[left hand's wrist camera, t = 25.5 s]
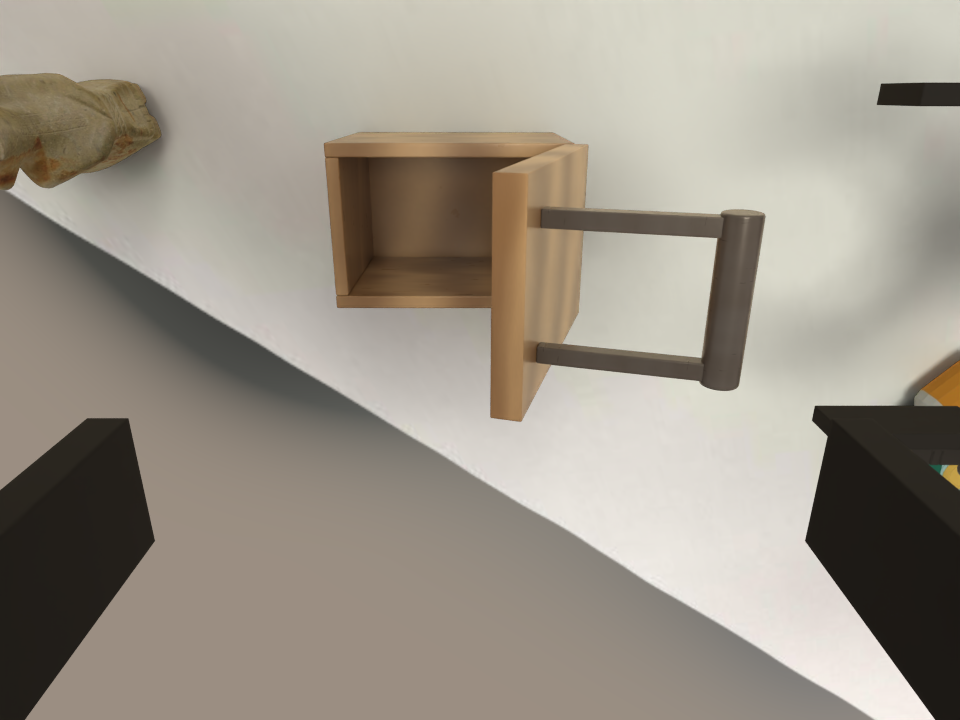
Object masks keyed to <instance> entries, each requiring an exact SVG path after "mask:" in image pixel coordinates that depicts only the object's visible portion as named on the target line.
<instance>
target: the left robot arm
mask: <svg viewBox="0 0 960 720" xmlns="http://www.w3.org/2000/svg"><path fill="white" fill-rule="evenodd" d="M154 541H155V539H154V535H153V530H152V526H151V521H150V516H149V512H148V507H147V503H146V498H145V493H144V489H143V484H142V479H141V475H140V470H139V466H138V461H137V457H136V452H135V447H134V443H133V438H132V433H131V429H130V424H129V419H128V418H87V419H86V420H85V421H84V422H82V423H81V424H80V425H79V426H78V427H76V428H75V429H74V430H73V431H71V432H70V433H69V434H68V435H67V436H65V437H64V438H63V439H62V440H61V441H59V442H58V443H57V444H56V445H55V446H53V447H52V448H51V449H50V450H49V451H47V452H46V453H45V454H44V455H42V456H41V457H40V458H39V459H38V460H36V461H35V462H34V463H33V464H31V465H30V466H29V467H28V468H27V469H25V470H24V471H23V472H22V473H21V474H19V475H18V476H17V477H16V478H15V479H13V480H12V481H11V482H10V483H9V484H7V485H6V486H5V487H4V488H2V489H1V490H0V720H25V719H26V717H27V716H28V715H29V713H30V712H31V711H32V709H33V708H34V706H35V705H36V704H37V702H38V701H39V699H40V698H41V697H42V695H43V694H44V693H45V691H46V690H47V688H48V687H49V686H50V684H51V683H52V682H53V680H54V679H55V678H56V676H57V675H58V673H59V672H60V671H61V669H62V668H63V667H64V665H65V664H66V662H67V661H68V660H69V658H70V657H71V655H72V654H73V653H74V651H75V650H76V649H77V647H78V646H79V645H80V643H81V642H82V640H83V639H84V638H85V636H86V635H87V633H88V632H89V631H90V629H91V628H92V627H93V625H94V624H95V623H96V621H97V620H98V618H99V617H100V616H101V614H102V613H103V611H104V610H105V609H106V607H107V606H108V605H109V603H110V602H111V600H112V599H113V598H114V596H115V595H116V594H117V592H118V591H119V590H120V588H121V587H122V585H123V584H124V583H125V581H126V580H127V579H128V577H129V576H130V574H131V573H132V572H133V570H134V569H135V568H136V566H137V565H138V563H139V562H140V561H141V559H142V558H143V557H144V555H145V554H146V552H147V551H148V550H149V548H150V547H151V545H152V544H153V543H154ZM805 541H806V543H807V544H808V546H809V547H810V548H811V550H812V551H813V552H814V554H815V555H816V557H817V558H818V559H819V561H820V562H821V563H822V565H823V566H824V568H825V569H826V570H827V572H828V573H829V574H830V576H831V577H832V579H833V580H834V581H835V583H836V584H837V585H838V587H839V588H840V590H841V591H842V592H843V594H844V595H845V596H846V598H847V599H848V601H849V602H850V603H851V605H852V606H853V607H854V609H855V610H856V612H857V613H858V614H859V616H860V617H861V618H862V620H863V621H864V623H865V624H866V625H867V627H868V628H869V629H870V631H871V632H872V634H873V635H874V636H875V638H876V639H877V640H878V642H879V643H880V645H881V646H882V647H883V649H884V650H885V651H886V653H887V654H888V656H889V657H890V658H891V660H892V661H893V662H894V664H895V665H896V667H897V668H898V669H899V671H900V672H901V673H902V675H903V676H904V678H905V679H906V680H907V682H908V683H909V684H910V686H911V687H912V689H913V690H914V691H915V693H916V694H917V695H918V697H919V698H920V700H921V701H922V702H923V704H924V705H925V706H926V708H927V709H928V711H929V712H930V713H931V715H932V716H933V717H934V719H935V720H960V490H959V489H958V488H956V487H955V486H954V485H953V484H952V483H950V482H949V481H948V480H947V479H945V478H944V477H943V476H942V475H941V474H939V473H938V472H937V471H936V470H935V469H933V468H932V467H931V466H930V465H929V464H927V463H926V462H925V461H924V460H922V459H921V458H920V457H919V456H918V455H916V454H915V453H914V452H913V451H912V450H910V449H909V448H908V447H907V446H906V445H904V444H903V443H902V442H901V441H899V440H898V439H897V438H896V437H895V436H893V435H892V434H891V433H890V432H889V431H887V430H886V429H885V428H884V427H883V426H881V425H880V424H879V423H878V422H876V421H875V420H874V419H873V418H832V419H831V424H830V429H829V433H828V438H827V442H826V447H825V452H824V456H823V461H822V466H821V470H820V475H819V479H818V484H817V489H816V493H815V498H814V503H813V507H812V512H811V516H810V521H809V526H808V530H807V535H806V539H805Z"/></svg>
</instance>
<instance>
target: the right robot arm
mask: <svg viewBox="0 0 960 720" xmlns="http://www.w3.org/2000/svg"><path fill="white" fill-rule="evenodd" d="M877 105H900V106H960V83H894V84H881V87H880V92H879V97H878V102H877ZM832 418H873V419H874V420H875V421H876V422H878V423H879V424H880V425H881V426H883V427H884V428H885V429H886V430H887V431H889V432H890V433H891V434H892V435H893V436H895V437H896V438H897V439H898V440H899V441H901V442H902V443H903V444H904V445H906V446H907V447H908V448H909V449H910V450H912V451H913V452H914V453H915V454H916V455H918V456H919V457H920V458H921V459H922V460H924V461H925V462H926V463H927V464H929V465H958V466H957V472H958V474H959V475H960V407H958V406H815V409H814V413H813V418H812V421H813V422H814V423H815V424H816V425H817V426H818V427H819V428H820V429H821V430H822V431H823V432H824V433H825V434H826V435H827V436H828V433H829V429H830V424H831V419H832Z"/></svg>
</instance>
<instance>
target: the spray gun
mask: <svg viewBox="0 0 960 720" xmlns="http://www.w3.org/2000/svg"><path fill="white" fill-rule="evenodd" d="M914 406H958V407H960V360H959V361H958V362H956V363H955V364H954V365H952V366H951V367H950V368H948V369H947V370H946V371H944V372H943V373H942V374H941V375H939V376H938V377H937V378H935V379H934V380H933V381H931V382H930V383H929V384H927V385H926V386H925V387H923V388H922V389H921V390H920V391H919V392H918V393H917V395H916V396H915V399H914ZM930 466H931V467H932V468H933V469H935V470H936V471H937V472H938V473H939V474H941V475H942V476H943V477H944V478H945V479H947V480H948V481H949V482H950V483H952V484H953V485H954V486H955V487H956V488H958V489H959V490H960V475H959V474H958V472H957V466H958V465H930Z"/></svg>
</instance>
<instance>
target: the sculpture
mask: <svg viewBox="0 0 960 720" xmlns="http://www.w3.org/2000/svg"><path fill="white" fill-rule="evenodd" d="M145 103H146V98H145V96H144V94H143V92H142V91H141V89H140V87H139V86H138V85H137V84H133V83H130V82H128V81H123V80H111V79H105V80H89V81H83V82H79V83H76V82H74V81H72V80H70V79H69V78H67V77H65V76H63V75H60V74H51V73H42V74H24V75H2V76H0V190H9V189H11V188H12V187H13V186H14V183H15V181H16V177H17V174H18V171H19V168H21V169H22V170H23V171H24V172H25V174H26V175H27V176H28V177H29V178H30V179H31V180H32V181H33V182H34V183H36V184H37V185H39V186H40V187H43V188H53V187H55V186H57V185H59V184H61V183H63V182H65V181H67V180H69V179H71V178H73V177H75V176H77V175H79V174H81V173H91V172H95V171H99V170H102V169H105V168H108V167H111V166H112V165H114V164H116V163H118V162H120V161H122V160H123V159H125V158H127V157H128V156H130V155H132V154H134V153H135V152H137V151H138V150H140V149H142V148H143V147H145V146H147V145H149V144H150V143H152V142H153V141H155V140H157V139H158V138H160V137H161V131H160V128H159V126H158V123H157V121H156V119H155V118H154V117H152V116H151V115H150V114H149V113H148V111H147V108H146V106H145Z"/></svg>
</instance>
